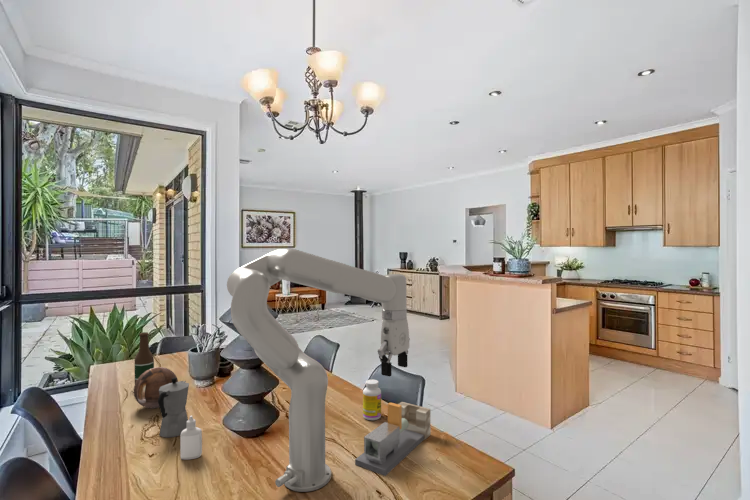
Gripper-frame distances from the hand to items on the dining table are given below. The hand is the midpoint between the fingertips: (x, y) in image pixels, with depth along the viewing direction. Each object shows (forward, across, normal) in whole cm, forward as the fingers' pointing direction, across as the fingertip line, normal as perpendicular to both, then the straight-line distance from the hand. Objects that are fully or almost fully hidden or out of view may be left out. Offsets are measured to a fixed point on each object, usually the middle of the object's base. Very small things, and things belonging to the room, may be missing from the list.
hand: (394, 370), depth 117 cm
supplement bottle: (+24, +14, +18) cm, 33 cm away
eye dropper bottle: (+24, -37, +48) cm, 65 cm away
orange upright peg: (+20, -2, 0) cm, 20 cm away
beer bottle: (+24, -16, +119) cm, 122 cm away
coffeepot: (+24, -32, +67) cm, 78 cm away
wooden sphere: (+24, -24, +93) cm, 99 cm away
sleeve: (+22, -7, 0) cm, 23 cm away
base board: (+24, -1, 0) cm, 24 cm away
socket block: (+24, +12, 0) cm, 27 cm away
